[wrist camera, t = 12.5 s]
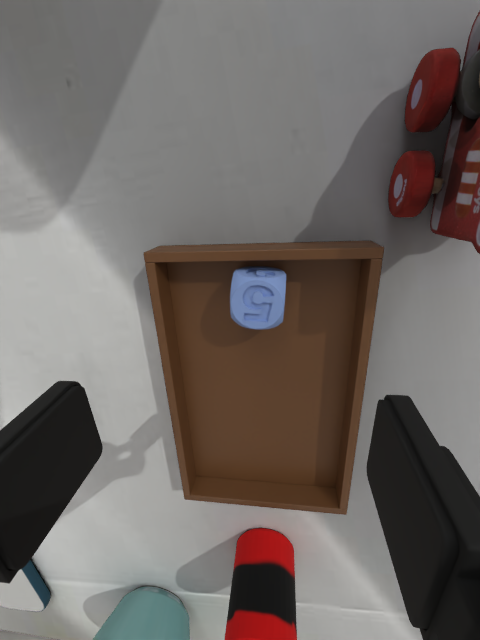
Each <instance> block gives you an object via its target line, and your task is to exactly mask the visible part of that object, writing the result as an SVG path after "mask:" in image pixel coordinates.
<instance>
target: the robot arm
mask: <svg viewBox="0 0 480 640" xmlns="http://www.w3.org/2000/svg"><path fill="white" fill-rule="evenodd" d="M101 453H102V443H101V440H100V436H99V433H98V430H97V427H96V424H95V421H94V417H93V414H92V411H91V408H90V405H89V401H88V398H87V395H86V392H85V389H84V388H83V387H82V386H81V385H80V384H79V383H78V382H75V381H58V382H57V383H55V384H54V385H53V386H52V387H50V388H49V389H48V390H47V391H46V392H45V393H43V394H42V395H41V396H40V397H39V398H38V399H36V400H35V401H34V402H33V403H32V404H31V405H29V406H28V407H27V408H26V409H25V410H24V411H23V412H21V413H20V414H19V415H18V416H17V417H16V418H14V419H13V420H12V421H11V422H10V423H9V424H7V425H6V426H5V427H4V428H3V429H2V430H0V582H1V583H8V584H10V582H11V581H12V580H13V578H14V577H15V575H16V574H17V572H18V571H19V570H21V569H22V568H24V567H25V566H26V565H27V563H28V562H29V561H30V559H31V558H32V556H33V555H34V553H35V552H36V550H37V549H38V548H39V546H40V545H41V543H42V542H43V540H44V539H45V537H46V536H47V534H48V533H49V531H50V530H51V528H52V527H53V525H54V524H55V522H56V521H57V520H58V518H59V517H60V515H61V514H62V512H63V511H64V509H65V508H66V506H67V505H68V503H69V502H70V500H71V499H72V497H73V496H74V494H75V493H76V492H77V490H78V489H79V487H80V486H81V484H82V483H83V481H84V480H85V478H86V477H87V475H88V474H89V472H90V471H91V469H92V468H93V467H94V465H95V464H96V462H97V461H98V459H99V458H100V456H101ZM367 476H368V481H369V484H370V487H371V491H372V494H373V498H374V501H375V504H376V508H377V511H378V515H379V518H380V522H381V525H382V528H383V532H384V535H385V539H386V542H387V545H388V549H389V552H390V556H391V559H392V563H393V566H394V569H395V573H396V576H397V580H398V583H399V586H400V590H401V593H402V597H403V600H404V604H405V607H406V610H407V614H408V617H409V620H410V622H411V624H412V625H413V627H416V628H420V631H421V634H422V637H423V640H480V497H479V495H478V493H477V492H476V490H475V489H474V487H473V486H472V484H471V482H470V481H469V479H468V478H467V476H466V475H465V473H464V471H463V470H462V468H461V467H460V465H459V464H458V462H457V460H456V459H455V457H454V456H453V454H452V453H451V452H450V451H449V449H447V448H446V447H444V446H439V444H438V443H437V441H436V439H435V438H434V436H433V434H432V433H431V431H430V429H429V428H428V426H427V424H426V423H425V421H424V419H423V418H422V416H421V415H420V413H419V411H418V410H417V408H416V406H415V405H414V403H413V401H412V400H411V398H410V397H409V396H403V395H386V396H385V398H384V400H379V401H378V404H377V410H376V415H375V421H374V427H373V433H372V438H371V444H370V450H369V455H368V461H367ZM0 640H59V639H53V638H47V637H42V636H36V635H30V634H24V633H18V632H12V631H6V630H1V629H0Z"/></svg>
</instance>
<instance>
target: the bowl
mask: <svg viewBox="0 0 480 640" xmlns="http://www.w3.org/2000/svg"><path fill="white" fill-rule="evenodd" d="M93 640H190V633H189V616H188V613H187V611H186V609H185V607H184V605H183V603H182V602H181V600H180V599H179V598H178V597H177V596H175V595H174V594H172V593H171V592H169V591H167V590H164V589H161V588H158V587H151V586H145V587H140V588H137V589H136V590H134V591H132V592H130V593H128V594H127V595H125V596H124V597H123V599H122V600H121V601H120V603H119V604H118V605H117V607H116V608H115V610H114V611H113V612H112V614H111V615H110V616H109V618H108V619H107V620H106V622H105V623H104V624H103V626H102V627H101V629H100V630H99V631H98V633H97V634H96V636H95V637H94V638H93Z"/></svg>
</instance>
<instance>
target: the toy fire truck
mask: <svg viewBox="0 0 480 640" xmlns="http://www.w3.org/2000/svg"><path fill="white" fill-rule="evenodd" d="M460 64H461V59H460V55H459V53H458V52H457V51H456V49H454V48H445V49H435V50H432V51H430V52H428V53H427V54H426V55H425V56H424V57H423V58H422V60H421V61H420V63H419V65H418V67H417V69H416V71H415V73H414V76H413V79H412V82H411V85H410V88H409V93H408V96H407V102H406V108H405V124H406V128H407V130H408V131H409V132H412V133H416V132H429V131H432V130H434V129H435V128H436V127H437V126H438V125H439V124H440V123H441V121H443V119H444V118H445V116H446V115H447V113H448V111H449V109H450V107H451V105H452V107H451V108H452V117H451V123H450V129H449V132H448V137H447V142H446V147H445V152H444V156H443V163H442V167H441V170H440V173H439V175H438V177H435V160H434V157H433V155H432V153H431V152H429V151H425V150H422V151H408V152H405V153H404V154H403V155H402V156H401V157H400V158H399V160H398V161H397V163H396V165H395V167H394V170H393V174H392V177H391V181H390V187H389V197H388V203H389V209H390V212H391V214H392V215H393V216H395V217H415V216H417V215H418V214H420V213H421V211H422V210H423V209H424V207H425V206H426V205H427V203H428V201H429V199H430V197H431V194H433V209H432V214H431V220H430V227H431V231H432V232H433V233H435V234H439V235H443V236H447V237H451V238H456V239H459V240H465V241H469V242H472V243H473V245H474V247H475V249H476V251H477V252H478V253H479V254H480V11H479V13H478V15H477V17H476V19H475V21H474V23H473V26H472V29H471V32H470V35H469V39H468V43H467V48H466V52H465V57H464V63H463V67H462V70H461V72H460Z"/></svg>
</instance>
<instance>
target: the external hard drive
mask: <svg viewBox="0 0 480 640" xmlns="http://www.w3.org/2000/svg"><path fill="white" fill-rule="evenodd" d="M50 598H51V596H50V592H49V590H48V588H47V587H46V585H45V583H44V582H43V580H42V578H41V577H40V575H39V573H38V572H37V570H36V568H35V567H34V565H33V563H32V562H31V560H30V561H29V562H28V563H27V565H26V566H25V567H24V568H22V569H21V570H19V571H18V572H17V574H16V575H15V577H14V578H13V580H12V581H11V582H10V584H8V583H1V582H0V606H2V607H5V608H10V609H17V610H25V611H33V612H40V611H43V610H44V609H45V608H46V606H47V605H48V603H49V601H50Z"/></svg>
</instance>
